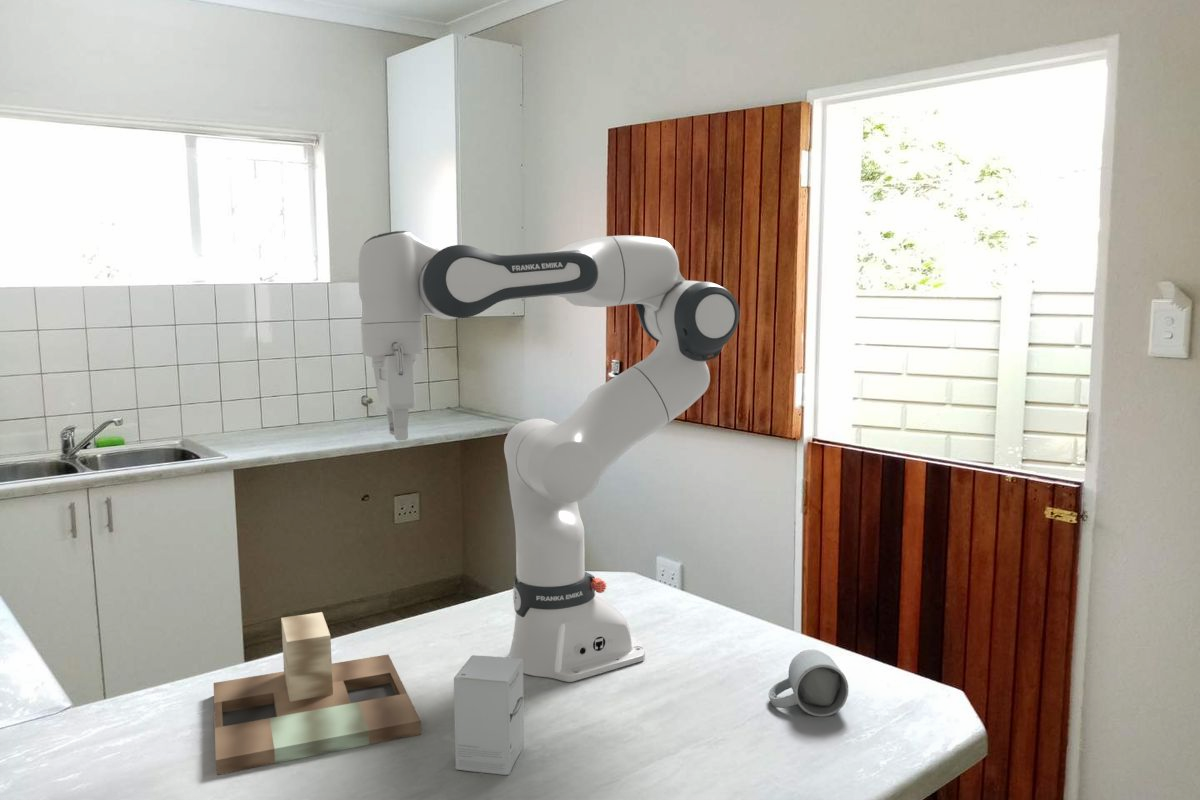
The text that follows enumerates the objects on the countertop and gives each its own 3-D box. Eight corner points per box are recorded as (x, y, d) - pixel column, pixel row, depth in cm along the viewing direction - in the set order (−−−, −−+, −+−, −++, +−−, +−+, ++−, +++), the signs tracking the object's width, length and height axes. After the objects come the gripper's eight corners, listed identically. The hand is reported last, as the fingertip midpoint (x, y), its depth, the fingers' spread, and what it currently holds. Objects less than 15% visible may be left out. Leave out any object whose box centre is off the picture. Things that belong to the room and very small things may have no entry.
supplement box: (509, 776, 116) (508, 681, 115) (453, 770, 118) (451, 676, 116) (526, 747, 123) (524, 657, 122) (473, 742, 125) (471, 653, 123)
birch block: (324, 667, 144) (322, 612, 143) (333, 694, 135) (330, 635, 133) (284, 674, 141) (281, 617, 140) (289, 701, 132) (286, 641, 131)
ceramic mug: (833, 691, 140) (834, 642, 139) (848, 716, 132) (849, 665, 131) (763, 692, 140) (764, 644, 139) (774, 718, 132) (774, 667, 130)
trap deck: (388, 666, 149) (388, 654, 149) (421, 734, 127) (420, 720, 127) (214, 695, 139) (213, 682, 138) (216, 774, 117) (215, 760, 117)
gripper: (422, 341, 127) (428, 441, 127) (408, 343, 146) (412, 430, 147) (375, 343, 125) (381, 444, 126) (367, 345, 144) (372, 433, 145)
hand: (398, 437), depth 136 cm, fingers open, 8 cm apart
